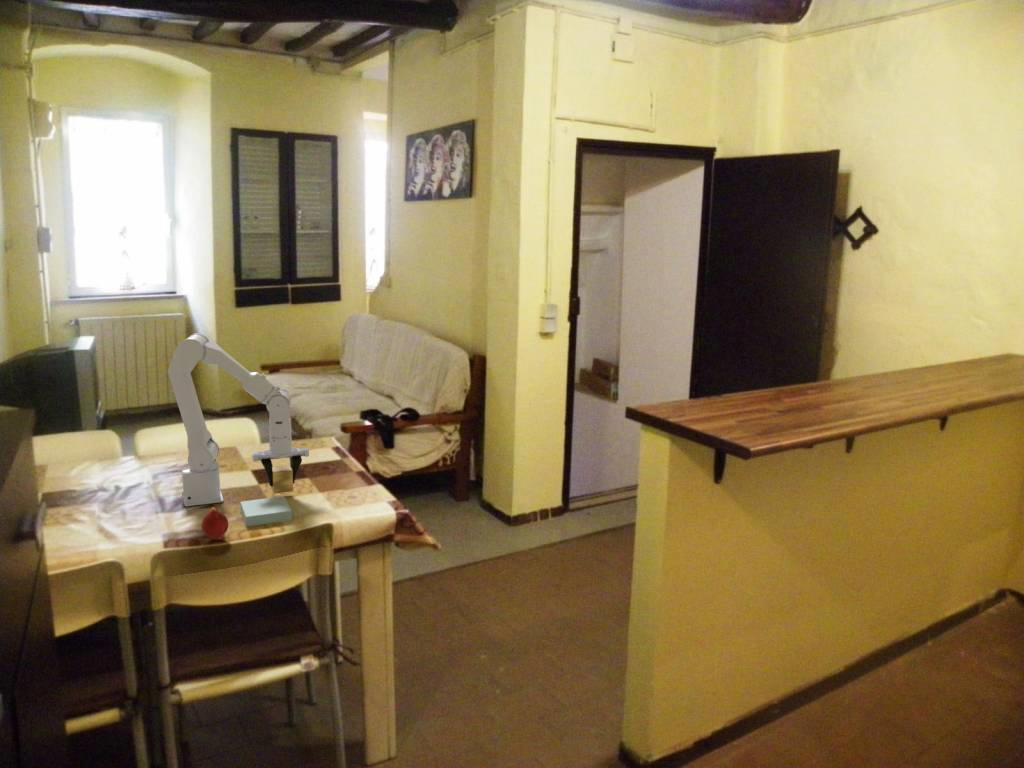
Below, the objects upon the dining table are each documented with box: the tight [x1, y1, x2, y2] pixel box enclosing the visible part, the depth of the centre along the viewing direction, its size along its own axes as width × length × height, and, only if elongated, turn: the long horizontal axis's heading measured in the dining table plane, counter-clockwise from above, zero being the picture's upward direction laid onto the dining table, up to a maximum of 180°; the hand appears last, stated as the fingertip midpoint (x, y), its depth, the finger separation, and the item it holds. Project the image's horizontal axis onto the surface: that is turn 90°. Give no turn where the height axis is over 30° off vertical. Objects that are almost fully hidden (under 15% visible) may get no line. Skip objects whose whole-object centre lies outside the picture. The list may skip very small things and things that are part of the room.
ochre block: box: [270, 464, 294, 495], centre depth 209 cm, size 5×5×6 cm
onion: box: [201, 507, 229, 541], centre depth 181 cm, size 6×6×8 cm
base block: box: [240, 495, 293, 527], centre depth 197 cm, size 11×11×3 cm
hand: (281, 483), depth 209 cm, fingers closed on ochre block, 5 cm apart
